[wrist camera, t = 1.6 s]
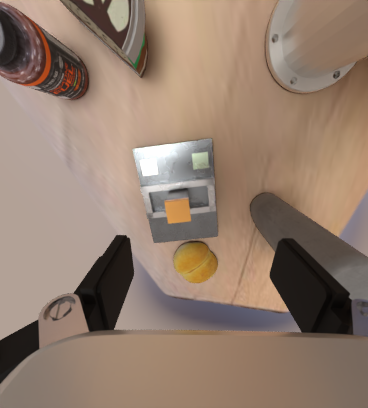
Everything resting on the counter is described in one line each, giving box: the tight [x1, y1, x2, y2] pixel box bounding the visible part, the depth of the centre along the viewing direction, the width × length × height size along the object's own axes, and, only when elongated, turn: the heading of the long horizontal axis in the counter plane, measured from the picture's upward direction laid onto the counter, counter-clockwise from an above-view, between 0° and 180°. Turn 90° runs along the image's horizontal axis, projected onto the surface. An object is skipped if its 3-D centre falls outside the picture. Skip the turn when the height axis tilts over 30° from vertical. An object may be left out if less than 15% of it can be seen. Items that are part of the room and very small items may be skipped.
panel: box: [133, 138, 218, 243], centre depth 29 cm, size 12×17×3 cm
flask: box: [250, 193, 368, 300], centre depth 23 cm, size 15×6×20 cm, turn 40°
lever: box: [164, 188, 191, 224], centre depth 26 cm, size 3×3×6 cm
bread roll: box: [173, 242, 218, 283], centre depth 33 cm, size 8×9×4 cm
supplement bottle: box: [0, 2, 88, 100], centre depth 18 cm, size 6×6×11 cm
